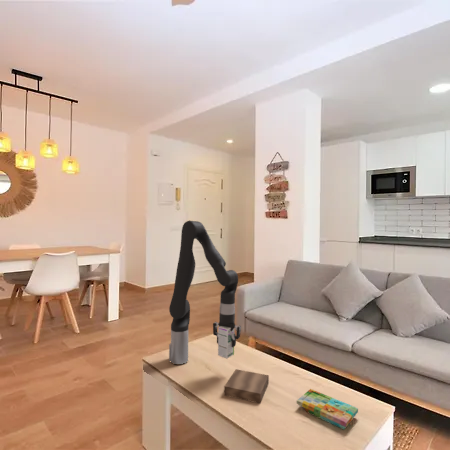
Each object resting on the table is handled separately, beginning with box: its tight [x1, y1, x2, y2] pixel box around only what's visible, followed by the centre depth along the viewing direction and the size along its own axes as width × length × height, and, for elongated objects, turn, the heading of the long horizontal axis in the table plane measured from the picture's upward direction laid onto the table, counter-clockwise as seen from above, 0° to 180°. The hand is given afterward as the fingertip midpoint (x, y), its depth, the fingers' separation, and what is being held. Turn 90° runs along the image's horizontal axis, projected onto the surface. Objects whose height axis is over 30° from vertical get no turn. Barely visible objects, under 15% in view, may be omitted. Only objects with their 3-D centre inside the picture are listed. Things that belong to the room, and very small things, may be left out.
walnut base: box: [223, 368, 270, 404], centre depth 138 cm, size 16×16×4 cm
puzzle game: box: [296, 388, 359, 431], centre depth 122 cm, size 12×5×20 cm
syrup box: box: [217, 325, 235, 360], centre depth 150 cm, size 6×6×14 cm
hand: (226, 345), depth 150 cm, fingers closed on syrup box, 6 cm apart
